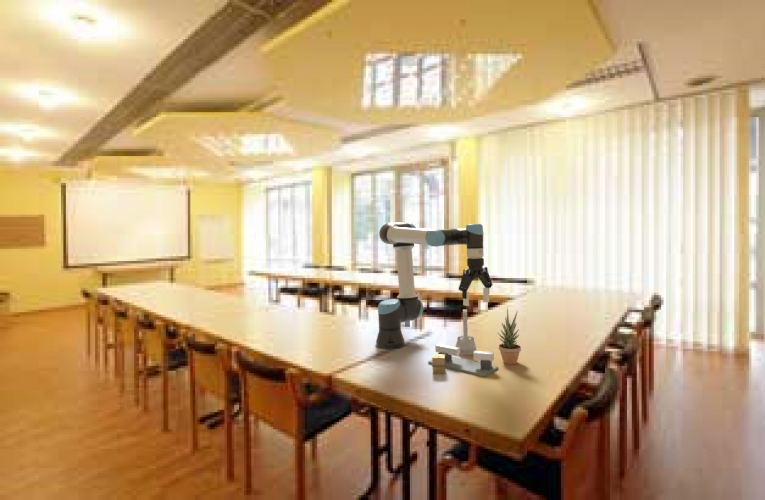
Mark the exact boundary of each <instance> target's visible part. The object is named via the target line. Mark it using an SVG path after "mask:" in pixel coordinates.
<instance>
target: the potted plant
mask: <svg viewBox="0 0 765 500" xmlns="http://www.w3.org/2000/svg"><path fill="white" fill-rule="evenodd" d="M506 308H507V309H506V316H505V317H504V321H505V323H504V322H501V326H502V329H503V330H502V329H500V332H501V334H502V335H501V334H500V333H499V332H497V334H498V335H499V336H500V338H499V340H500V341H501V344H499V345H498V350H499V352H500V355H501V359H502V361H503V363H504V364H507V365H516V364H517V363H518V359H519V356H520V352H521V351H522V347H521V345H519V344H517V343H518V342H517V341H518V340H517V338H519V336H520V334H518V332H519V329H517V330H516V328H517V323H516V319H517V316H518V310H516V312H515V314H514V316H513V317H514V318H513V320H512V322H511V323H510V316H509V308H508V307H506ZM503 323H504V324H503ZM515 330H516V331H515Z"/></svg>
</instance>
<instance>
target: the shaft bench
mask: <svg viewBox="0 0 765 500" xmlns="http://www.w3.org/2000/svg"><path fill="white" fill-rule="evenodd" d="M437 354H444V353H439V352H437ZM445 361H446V364H445V369H449V370H454V371H458V372H461V373H465V374H469V375H470V374H471V375H475V376H477V377H478V376H479V377H482V378H485V377H487V376H488V375H491V374H492V373H493V372H495V371H497V370H499V366H497V365H493V363H492V362H493V361H483V360H479V361H480V362H478V361H476V360H474V361H473V360H470V359H465V358H461V357H457V356H453V355H449V354H445ZM427 363H428V364H429V365H432V359H430V360H429V361H428V362H427Z"/></svg>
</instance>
